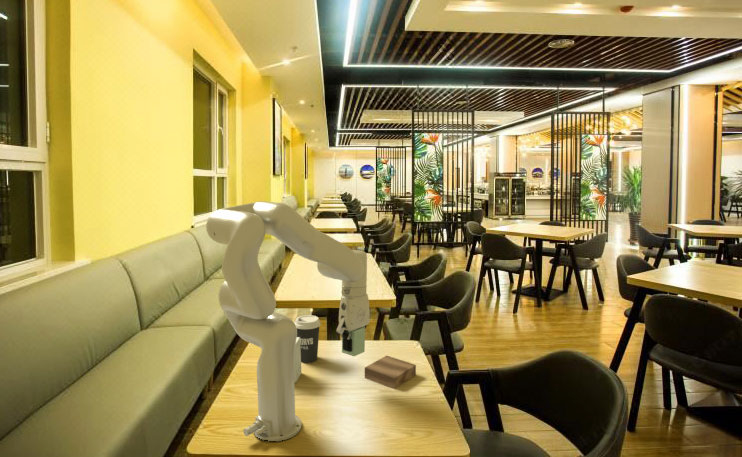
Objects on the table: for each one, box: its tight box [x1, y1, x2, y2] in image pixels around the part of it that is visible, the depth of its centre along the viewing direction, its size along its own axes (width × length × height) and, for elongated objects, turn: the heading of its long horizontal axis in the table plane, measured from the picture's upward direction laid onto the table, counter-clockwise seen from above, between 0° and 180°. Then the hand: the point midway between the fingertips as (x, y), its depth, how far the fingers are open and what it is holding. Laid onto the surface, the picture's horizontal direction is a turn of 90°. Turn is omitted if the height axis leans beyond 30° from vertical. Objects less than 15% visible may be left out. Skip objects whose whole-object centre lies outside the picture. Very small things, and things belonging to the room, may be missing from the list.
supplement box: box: [294, 337, 302, 384], centre depth 155 cm, size 7×7×13 cm
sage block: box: [341, 327, 366, 357], centre depth 148 cm, size 5×5×8 cm
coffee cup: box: [293, 314, 322, 364], centre depth 169 cm, size 10×10×15 cm
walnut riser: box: [364, 355, 417, 390], centre depth 157 cm, size 12×12×4 cm
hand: (353, 347), depth 148 cm, fingers closed on sage block, 5 cm apart
